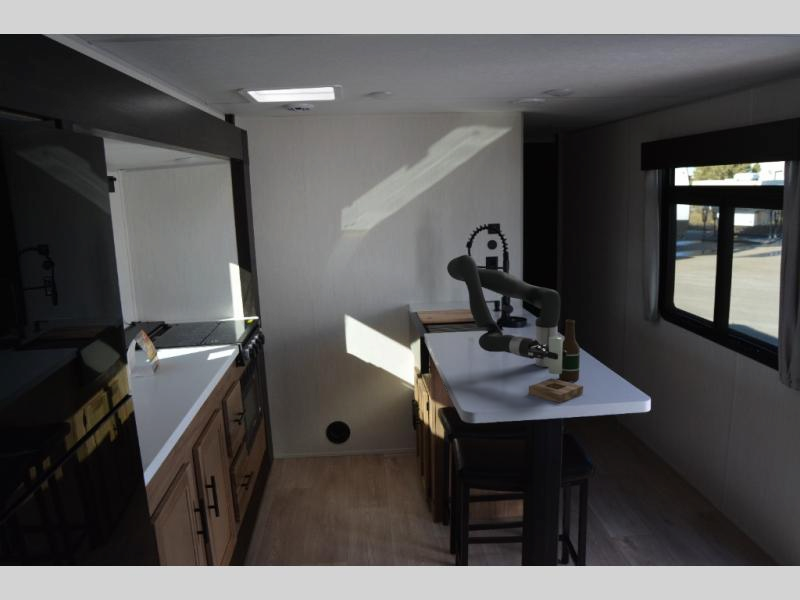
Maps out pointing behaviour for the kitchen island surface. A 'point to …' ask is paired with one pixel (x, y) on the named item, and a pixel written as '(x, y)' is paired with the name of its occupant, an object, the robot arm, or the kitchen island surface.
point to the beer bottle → (570, 354)
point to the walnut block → (556, 390)
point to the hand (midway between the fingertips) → (561, 355)
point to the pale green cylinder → (556, 347)
